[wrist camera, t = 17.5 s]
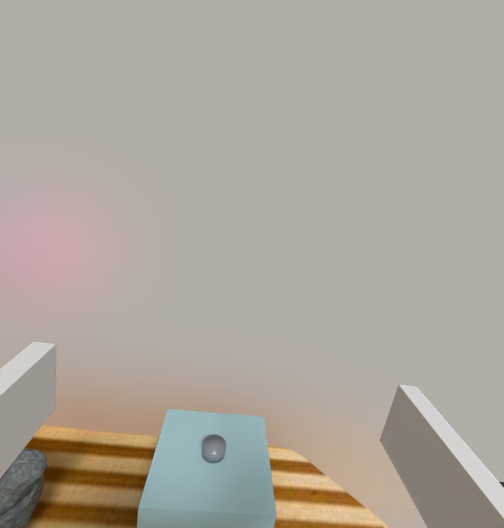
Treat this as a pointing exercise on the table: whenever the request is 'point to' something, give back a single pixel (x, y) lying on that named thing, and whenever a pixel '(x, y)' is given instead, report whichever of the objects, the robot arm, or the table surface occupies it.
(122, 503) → the table surface
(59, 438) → the table surface
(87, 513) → the table surface
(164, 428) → the cover tub
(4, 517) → the mortar and pestle
